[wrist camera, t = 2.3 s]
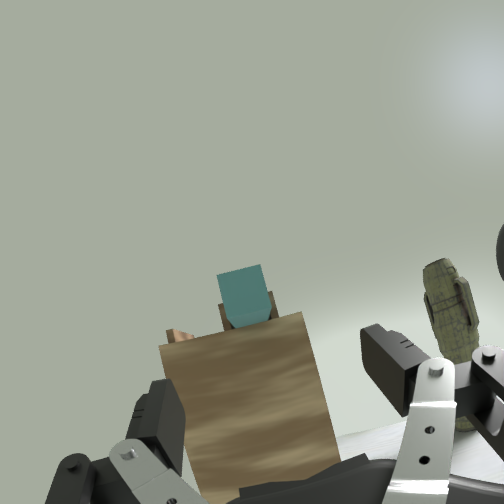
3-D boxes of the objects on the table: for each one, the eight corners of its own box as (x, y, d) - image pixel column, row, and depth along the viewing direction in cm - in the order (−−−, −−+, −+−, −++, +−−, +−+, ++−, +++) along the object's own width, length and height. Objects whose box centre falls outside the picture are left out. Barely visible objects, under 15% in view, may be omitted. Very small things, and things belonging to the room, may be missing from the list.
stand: (238, 531, 35) (178, 328, 45) (339, 508, 36) (284, 302, 46) (233, 572, 23) (153, 319, 34) (359, 544, 24) (293, 285, 35)
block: (242, 335, 47) (236, 313, 48) (264, 329, 47) (259, 307, 48) (226, 318, 24) (216, 275, 25) (271, 307, 24) (260, 264, 25)
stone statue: (488, 430, 38) (446, 253, 49) (442, 432, 49) (403, 275, 59) (505, 408, 42) (466, 248, 53) (463, 413, 52) (426, 269, 63)
